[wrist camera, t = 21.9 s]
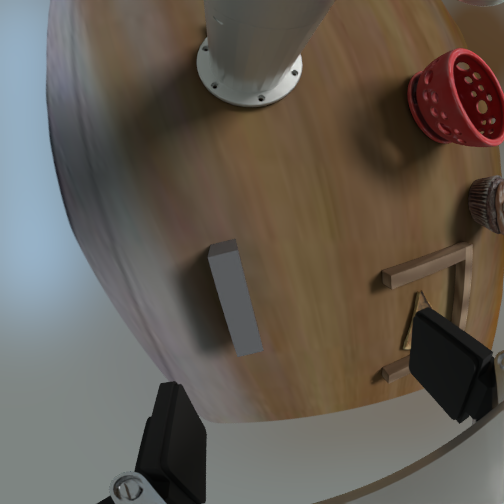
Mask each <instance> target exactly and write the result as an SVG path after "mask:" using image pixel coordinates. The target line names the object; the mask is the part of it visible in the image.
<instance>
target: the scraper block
mask: <svg viewBox="0 0 504 504" xmlns="http://www.w3.org/2000/svg"><path fill="white" fill-rule="evenodd" d="M208 260H209V264H210V268H211V271H212V275H213V278H214V282H215V285H216V288H217V292H218V295H219V299H220V302H221V305H222V309H223V312H224V315H225V319H226V322H227V325H228V328H229V331H230V335H231V338H232V341H233V344H234V347H235V350H236V353H237V357H240V356H244V355H248V354H253V353H257V352H261V351H263V347H262V343H261V339H260V335H259V330H258V326H257V322H256V319H255V315H254V311H253V307H252V303H251V299H250V295H249V291H248V287H247V283H246V279H245V275H244V271H243V267H242V263H241V259H240V255H239V251H238V247H237V243H236V239H232V240H228V241H224V242H220V243H216V244H212V245H210V250H209V254H208Z"/></svg>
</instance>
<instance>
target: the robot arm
mask: <svg viewBox="0 0 504 504" xmlns="http://www.w3.org/2000/svg"><path fill="white" fill-rule="evenodd" d="M458 1H461V2H463V3H467V4H471V5H476V6H493V5H498V4H501V3H503V2H504V0H458ZM334 2H335V0H204V7H205V18H206V28H207V38H206V39H205V40H204V42H203V43H202V44H201V46H200V49H199V51H198V54H197V70H198V74H199V77H200V79H201V81H202V83H203V84H204V86H205V87H206V88H207V90H208V91H209V92H211V93H212V94H213V95H214V96H215V97H217V98H219V99H221V100H222V101H224V102H227V103H230V104H232V105H236V106H242V107H260V106H266V105H269V104H273V103H275V102H277V101H279V100H281V99H283V98H284V97H285V96H287V95H288V94H289V93H290V92H291V91H292V90H293V89H294V87H295V86H296V84H297V83H298V81H299V79H300V77H301V74H302V66H303V65H302V57H301V54H300V53H301V52H302V50H303V49H304V47H305V46H306V44H307V43H308V41H309V39H310V38H311V36H312V35H313V33H314V32H315V30H316V29H317V27H318V26H319V24H320V23H321V21H322V20H323V18H324V17H325V16H326V14H327V13H328V11H329V9H330V8H331V6H332V5H333V3H334ZM205 50H208V51H205ZM292 74H294V75H295V76H293V75H292ZM214 86H216V87H217V88H216V89H213V87H214ZM258 99H262V102H261V101H259V100H258ZM492 354H493V352H492V351H491V350H489V349H488V348H487V347H485V346H484V345H483V344H481V343H480V342H479V341H477V340H476V339H474V338H473V337H472V336H470V335H469V334H467V333H466V332H465V331H463V330H462V329H460V328H459V327H458V326H456V325H455V324H453V323H452V322H450V321H449V320H448V319H446V318H445V317H443V316H442V315H440V314H439V313H437V312H436V311H434V310H433V309H431V308H430V307H426V308H424V309H422V310H420V311H417V312H416V314H415V317H414V318H413V324H412V338H411V349H410V359H409V370H410V372H411V374H412V375H413V376H414V377H415V378H416V379H417V380H418V381H419V383H420V384H421V385H422V386H423V387H424V388H425V389H426V390H427V391H428V393H430V395H431V396H432V397H433V398H434V399H435V400H436V401H437V403H438V404H439V405H440V406H441V407H442V408H443V409H444V411H445V412H446V413H447V414H448V415H449V416H450V417H451V418H452V419H453V420H455V419H456V420H457V421H458V422H459V424H460V423H461V422H463V421H464V420H465V419H467V418H468V417H469V415H470V416H471V417H472V426H471V427H470V428H468V429H467V430H466V431H464V432H462V433H461V434H460V435H458V436H457V437H455V438H454V439H453V440H451V441H449V442H448V443H447V444H445V445H443V446H442V447H440V448H439V449H437V450H435V451H434V452H432V453H430V454H429V455H427V456H425V457H424V458H422V459H420V460H418V461H416V462H415V463H413V464H411V465H409V466H407V467H405V468H403V469H401V470H399V471H397V472H395V473H393V474H392V475H389V476H387V477H385V478H382V479H380V480H378V481H376V482H373V483H371V484H369V485H366V486H364V487H361V488H359V489H356V490H353V491H351V492H348V493H345V494H342V495H339V496H336V497H333V498H330V499H327V500H324V501H320V502H317V503H313V504H504V350H502V351H500V352H499V353H498V354H497V355H496V356H495V358H494V357H492ZM206 436H207V434H206V429H205V427H204V425H203V423H202V421H201V420H200V418H199V416H198V414H197V412H196V411H195V409H194V407H193V405H192V403H191V401H190V399H189V397H188V395H187V394H186V392H185V390H184V388H183V386H182V385H181V384H177V383H176V382H175V381H173V382H166V383H161V384H160V386H159V390H158V394H157V397H156V401H155V405H154V409H153V413H152V417H149V418H148V419H147V422H146V426H145V429H144V433H143V437H142V441H141V445H140V449H139V454H138V458H137V462H136V466H135V471H134V472H131V471H130V472H124V473H121V474H119V475H118V476H116V477H115V478H114V479H113V480H112V482H111V484H110V487H109V492H110V496H109V497H107V498H106V499H104V500H102V501H100V502H99V503H97V504H202V503H205V501H206V438H207V437H206Z"/></svg>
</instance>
